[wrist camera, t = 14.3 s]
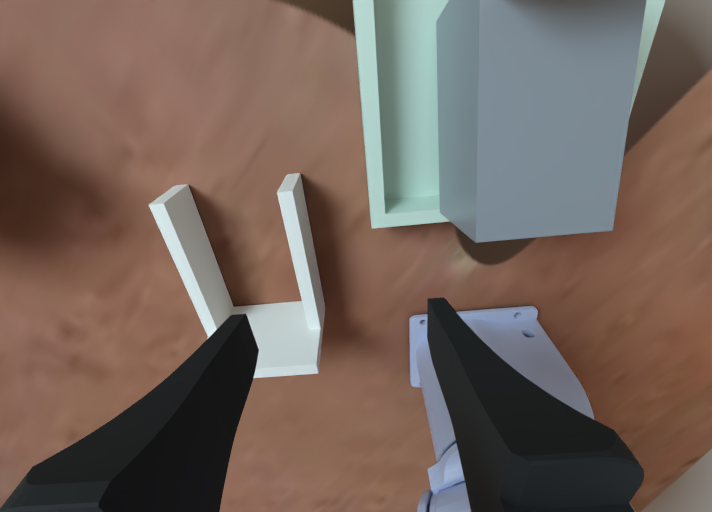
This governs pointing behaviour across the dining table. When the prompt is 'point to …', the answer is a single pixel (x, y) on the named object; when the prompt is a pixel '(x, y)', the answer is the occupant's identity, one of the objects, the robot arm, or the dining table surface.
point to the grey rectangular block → (534, 113)
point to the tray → (414, 104)
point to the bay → (268, 321)
